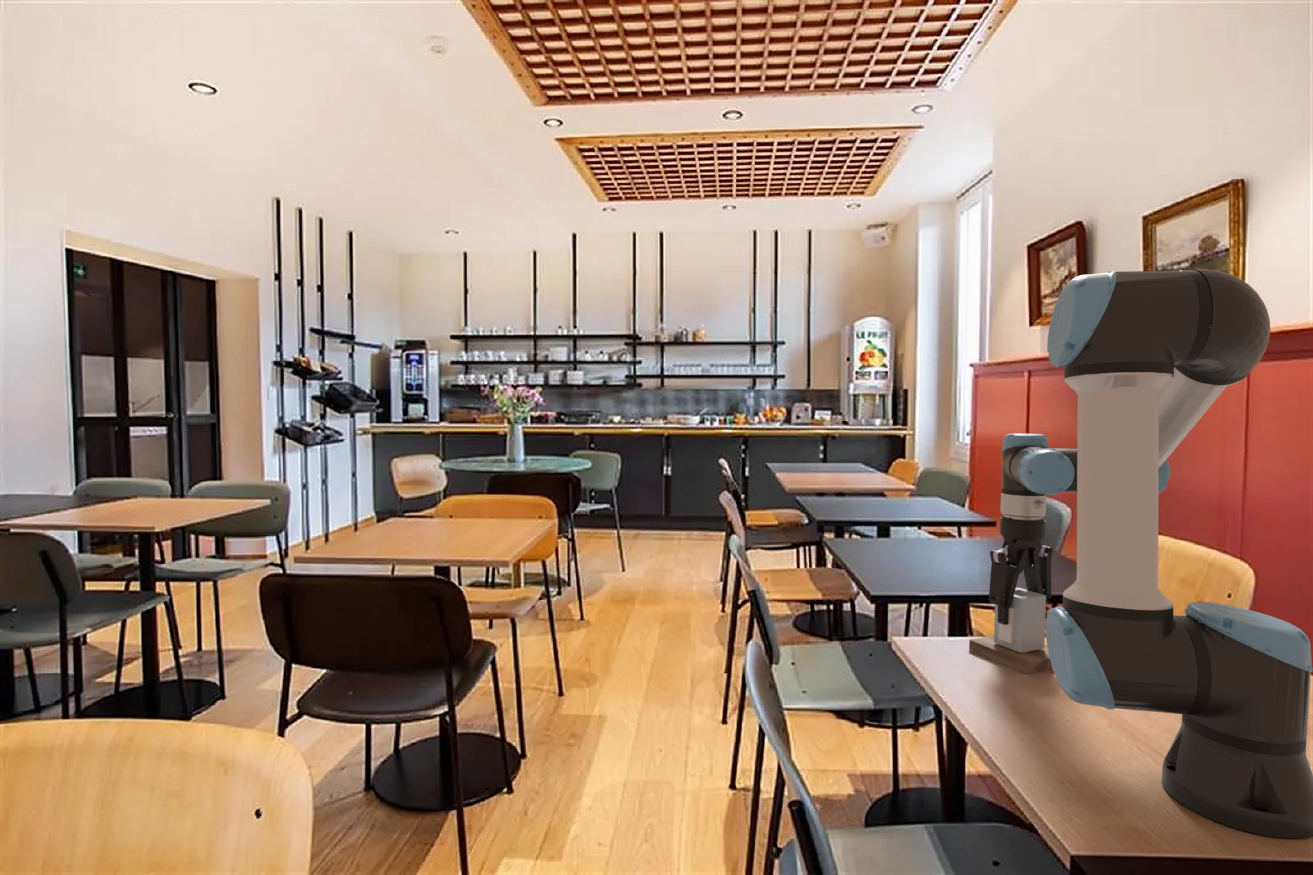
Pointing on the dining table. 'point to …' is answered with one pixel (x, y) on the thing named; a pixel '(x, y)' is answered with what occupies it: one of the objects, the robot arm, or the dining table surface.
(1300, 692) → the robot arm
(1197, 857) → the dining table surface
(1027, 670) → the wooden peg base
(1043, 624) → the light grey hollow box
